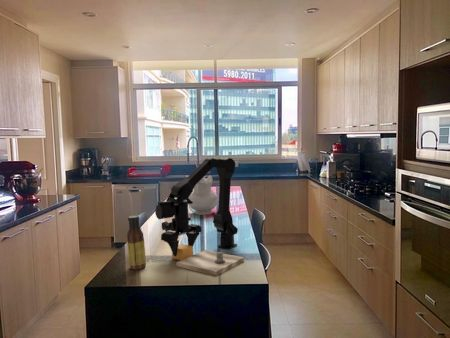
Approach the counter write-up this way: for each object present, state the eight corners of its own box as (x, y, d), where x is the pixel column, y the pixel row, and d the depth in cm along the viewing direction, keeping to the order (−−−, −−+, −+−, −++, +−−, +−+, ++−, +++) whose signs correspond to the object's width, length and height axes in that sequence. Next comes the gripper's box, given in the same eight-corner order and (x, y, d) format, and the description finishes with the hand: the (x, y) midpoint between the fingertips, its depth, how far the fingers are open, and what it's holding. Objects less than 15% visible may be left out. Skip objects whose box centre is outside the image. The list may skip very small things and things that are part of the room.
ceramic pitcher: (216, 218, 228) (218, 178, 226) (185, 216, 228) (186, 176, 226) (217, 211, 250) (219, 175, 248) (189, 210, 250) (190, 173, 248)
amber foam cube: (182, 254, 155) (181, 243, 154) (193, 256, 151) (192, 245, 151) (172, 258, 150) (171, 247, 150) (183, 260, 146) (182, 249, 146)
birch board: (205, 253, 155) (205, 241, 155) (243, 261, 144) (243, 248, 144) (176, 266, 140) (176, 253, 140) (216, 275, 129) (215, 262, 129)
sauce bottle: (147, 264, 143) (145, 214, 142) (144, 270, 137) (142, 217, 135) (130, 265, 143) (128, 214, 141) (126, 270, 137) (124, 218, 135)
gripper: (182, 209, 161) (183, 244, 163) (150, 217, 146) (152, 256, 148) (201, 212, 155) (202, 248, 156) (170, 220, 140) (172, 260, 141)
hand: (182, 253), depth 150 cm, fingers open, 9 cm apart
